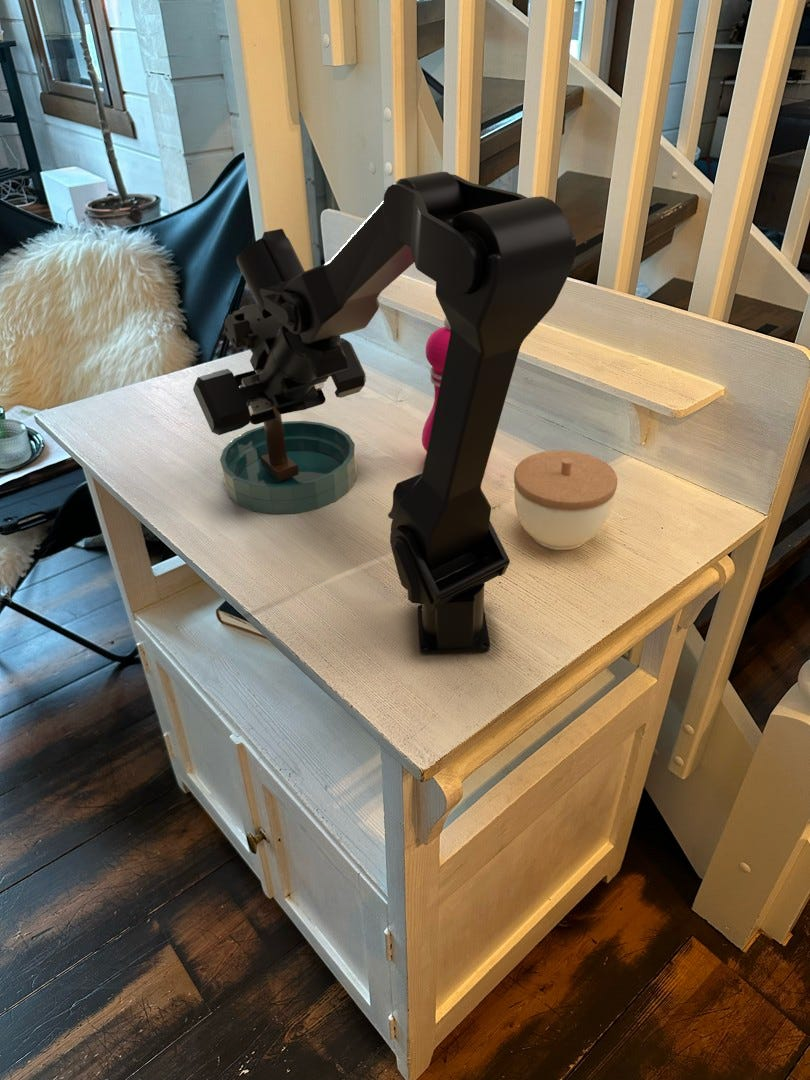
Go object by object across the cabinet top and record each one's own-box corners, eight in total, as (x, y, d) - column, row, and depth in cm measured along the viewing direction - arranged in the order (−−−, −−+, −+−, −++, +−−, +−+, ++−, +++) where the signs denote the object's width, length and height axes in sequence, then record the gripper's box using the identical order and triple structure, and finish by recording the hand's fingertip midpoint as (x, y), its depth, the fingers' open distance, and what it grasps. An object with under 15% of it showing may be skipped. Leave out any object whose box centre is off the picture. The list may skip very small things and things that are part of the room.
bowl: (355, 517, 88) (352, 484, 86) (216, 522, 88) (209, 489, 86) (358, 449, 101) (356, 418, 99) (237, 453, 101) (232, 423, 99)
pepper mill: (475, 486, 93) (480, 327, 81) (417, 481, 94) (414, 324, 83) (482, 457, 99) (487, 305, 87) (427, 452, 100) (425, 302, 88)
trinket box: (581, 576, 78) (591, 500, 73) (492, 541, 84) (495, 467, 78) (624, 526, 85) (636, 454, 80) (539, 497, 90) (545, 427, 85)
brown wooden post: (298, 474, 94) (284, 364, 85) (278, 481, 92) (261, 371, 84) (281, 459, 97) (265, 351, 89) (261, 465, 96) (243, 357, 87)
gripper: (345, 267, 82) (308, 336, 96) (180, 304, 74) (166, 373, 88) (388, 358, 81) (344, 415, 95) (226, 405, 73) (204, 459, 87)
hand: (267, 413), depth 91 cm, fingers closed on brown wooden post, 2 cm apart
